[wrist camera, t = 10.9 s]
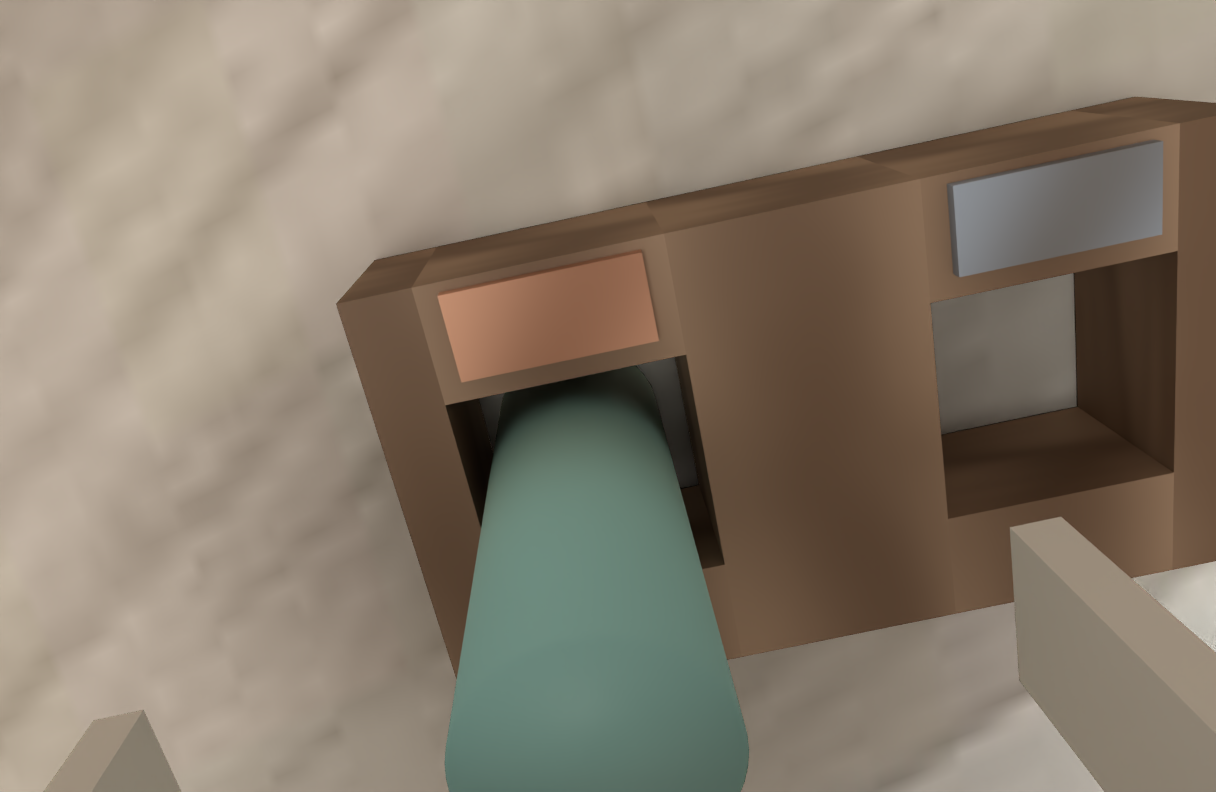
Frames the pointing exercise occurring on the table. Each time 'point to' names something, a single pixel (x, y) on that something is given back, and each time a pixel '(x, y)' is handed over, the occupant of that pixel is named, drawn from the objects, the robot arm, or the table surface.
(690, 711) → the plug
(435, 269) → the socket block
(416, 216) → the table surface
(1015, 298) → the table surface
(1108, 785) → the robot arm
